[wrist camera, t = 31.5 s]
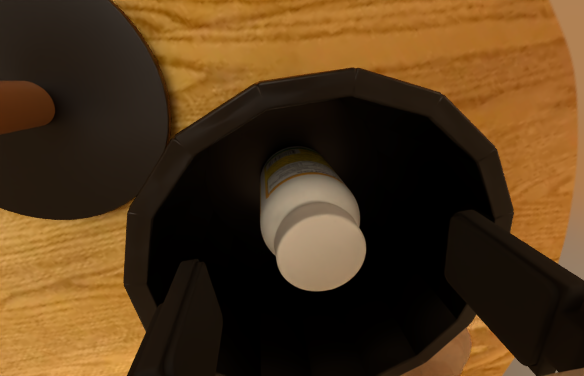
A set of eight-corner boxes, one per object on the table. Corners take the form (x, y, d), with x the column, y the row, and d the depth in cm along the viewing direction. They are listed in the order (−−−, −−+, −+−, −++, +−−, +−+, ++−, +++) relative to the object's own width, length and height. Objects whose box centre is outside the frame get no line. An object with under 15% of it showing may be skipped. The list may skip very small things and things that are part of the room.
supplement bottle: (274, 134, 19) (287, 180, 10) (341, 159, 20) (405, 219, 12) (250, 200, 21) (243, 289, 12) (313, 219, 22) (350, 313, 13)
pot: (384, 62, 19) (548, 37, 8) (385, 240, 24) (485, 366, 14) (170, 94, 18) (40, 115, 7) (222, 271, 23) (192, 429, 13)
